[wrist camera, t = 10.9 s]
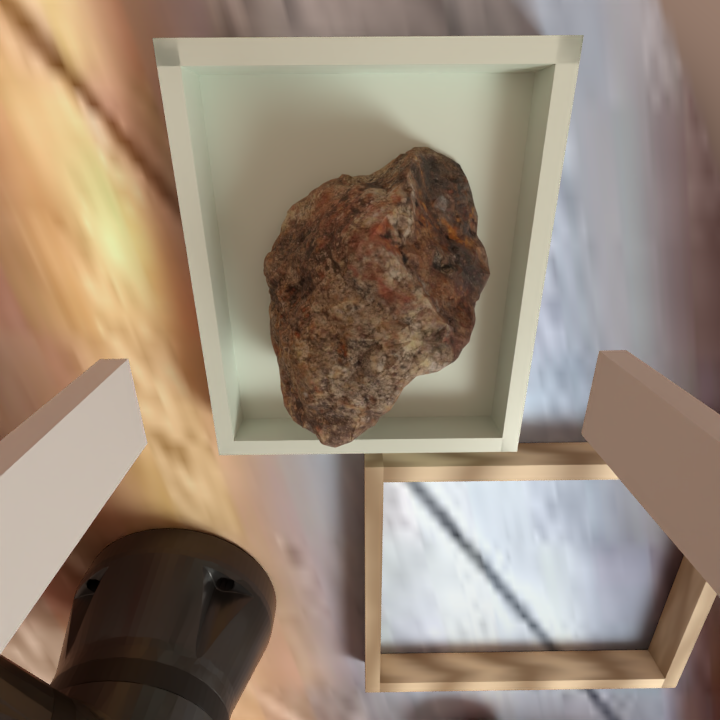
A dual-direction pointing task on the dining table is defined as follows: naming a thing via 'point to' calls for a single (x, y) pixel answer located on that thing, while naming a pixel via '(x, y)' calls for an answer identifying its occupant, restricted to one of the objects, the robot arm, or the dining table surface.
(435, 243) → the rock
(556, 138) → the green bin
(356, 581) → the dining table surface
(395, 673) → the pine frame
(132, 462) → the robot arm
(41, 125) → the dining table surface
